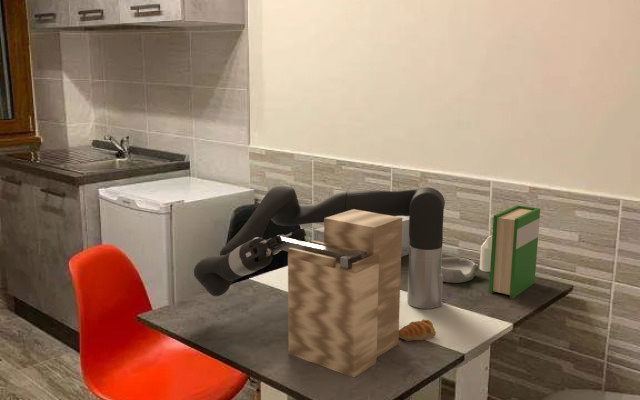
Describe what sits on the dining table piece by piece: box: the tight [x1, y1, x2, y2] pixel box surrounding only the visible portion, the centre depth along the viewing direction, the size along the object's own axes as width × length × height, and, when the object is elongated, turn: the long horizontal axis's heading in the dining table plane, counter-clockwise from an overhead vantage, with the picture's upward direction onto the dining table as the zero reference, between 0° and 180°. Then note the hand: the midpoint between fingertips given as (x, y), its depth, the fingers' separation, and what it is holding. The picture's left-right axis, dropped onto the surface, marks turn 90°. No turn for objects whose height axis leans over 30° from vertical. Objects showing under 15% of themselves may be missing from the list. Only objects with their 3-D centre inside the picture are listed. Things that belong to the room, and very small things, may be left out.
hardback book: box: [488, 204, 541, 299], centre depth 198 cm, size 18×7×24 cm, turn 142°
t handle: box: [275, 237, 366, 270], centre depth 150 cm, size 24×7×2 cm, turn 52°
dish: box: [441, 257, 480, 284], centre depth 210 cm, size 14×14×5 cm
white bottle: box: [479, 235, 492, 273], centre depth 217 cm, size 6×12×6 cm
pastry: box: [399, 319, 437, 342], centre depth 165 cm, size 9×7×4 cm
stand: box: [287, 209, 402, 378], centre depth 154 cm, size 19×21×32 cm
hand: (292, 235), depth 154 cm, fingers open, 8 cm apart
